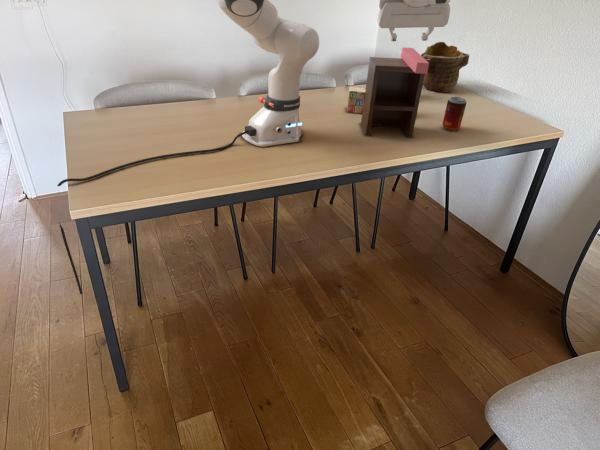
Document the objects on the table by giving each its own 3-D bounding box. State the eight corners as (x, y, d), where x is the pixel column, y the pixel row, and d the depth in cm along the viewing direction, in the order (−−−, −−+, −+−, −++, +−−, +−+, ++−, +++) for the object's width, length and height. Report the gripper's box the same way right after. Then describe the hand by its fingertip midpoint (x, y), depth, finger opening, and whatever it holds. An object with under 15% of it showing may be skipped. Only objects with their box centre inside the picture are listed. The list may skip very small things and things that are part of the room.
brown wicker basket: (457, 84, 205) (437, 32, 203) (417, 105, 225) (398, 58, 223) (483, 76, 217) (464, 27, 216) (443, 96, 237) (425, 52, 236)
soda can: (445, 124, 185) (452, 94, 178) (461, 128, 181) (470, 98, 174) (438, 128, 180) (445, 98, 173) (455, 133, 177) (463, 103, 170)
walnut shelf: (412, 137, 171) (426, 67, 156) (365, 135, 170) (375, 65, 155) (404, 125, 181) (417, 59, 166) (360, 124, 180) (369, 57, 165)
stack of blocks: (346, 112, 190) (350, 83, 183) (347, 107, 195) (350, 79, 189) (397, 116, 189) (402, 87, 182) (396, 111, 194) (401, 83, 187)
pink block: (426, 73, 150) (429, 63, 148) (415, 73, 149) (417, 62, 147) (411, 57, 168) (412, 47, 166) (400, 57, 168) (402, 47, 166)
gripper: (382, -2, 122) (375, 46, 133) (456, -3, 123) (444, 44, 133) (379, -12, 126) (373, 35, 137) (450, -13, 127) (439, 34, 137)
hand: (408, 40), depth 135 cm, fingers open, 8 cm apart
